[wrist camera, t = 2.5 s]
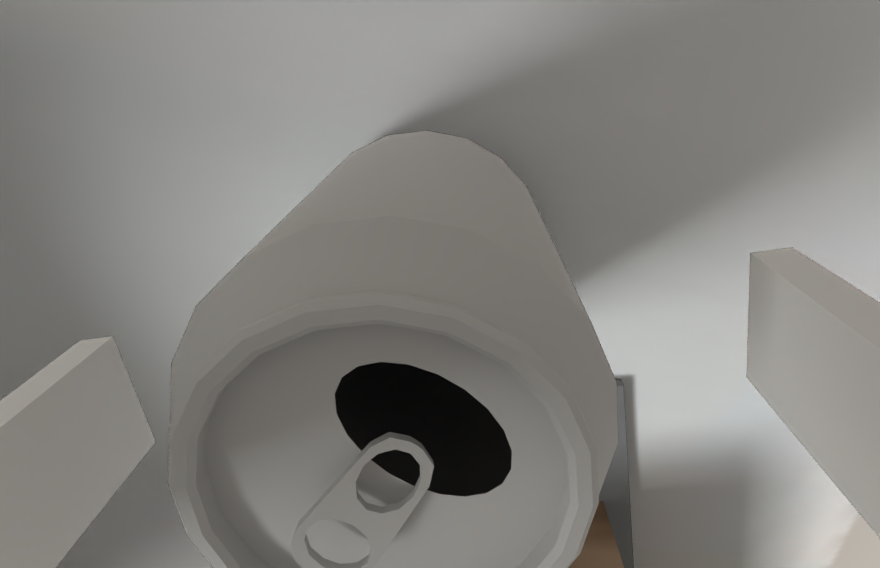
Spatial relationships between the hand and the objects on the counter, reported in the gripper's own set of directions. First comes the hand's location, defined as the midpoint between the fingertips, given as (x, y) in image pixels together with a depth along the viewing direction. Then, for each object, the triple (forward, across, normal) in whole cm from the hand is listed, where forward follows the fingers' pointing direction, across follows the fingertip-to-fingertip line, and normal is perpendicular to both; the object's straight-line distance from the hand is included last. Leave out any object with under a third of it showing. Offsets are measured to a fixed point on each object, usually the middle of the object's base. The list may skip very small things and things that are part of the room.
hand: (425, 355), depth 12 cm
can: (+8, 0, 0) cm, 8 cm away
